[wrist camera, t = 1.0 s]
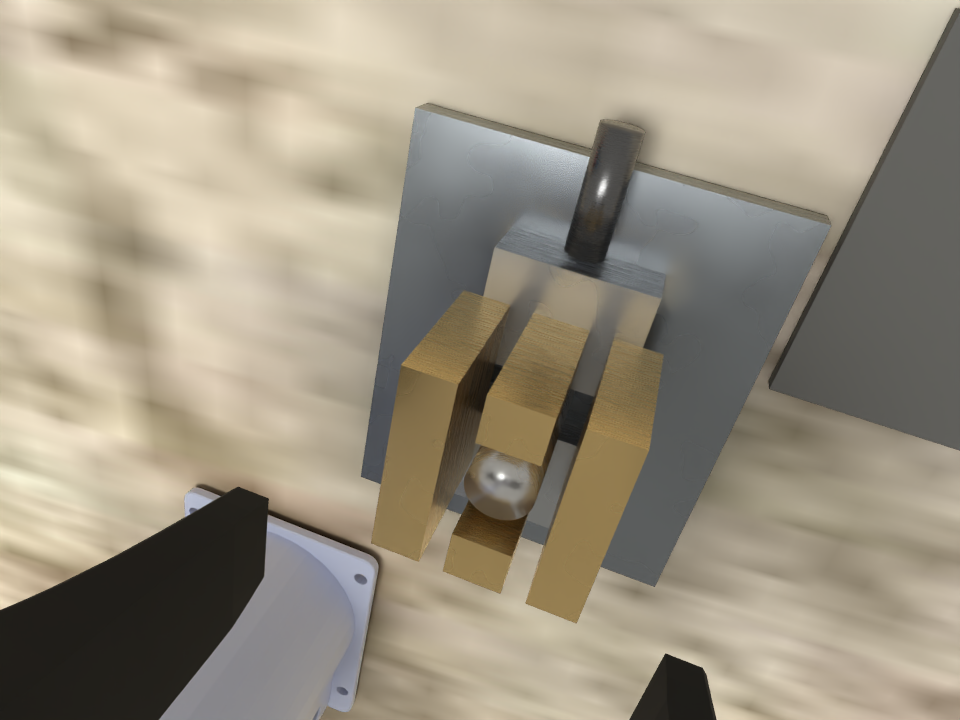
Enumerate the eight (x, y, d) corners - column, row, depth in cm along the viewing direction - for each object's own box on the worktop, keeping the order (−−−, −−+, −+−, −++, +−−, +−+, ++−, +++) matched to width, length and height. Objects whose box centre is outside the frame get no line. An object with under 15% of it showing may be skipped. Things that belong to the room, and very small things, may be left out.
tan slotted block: (602, 509, 19) (576, 623, 16) (430, 447, 20) (370, 543, 16) (663, 354, 16) (649, 450, 13) (464, 290, 17) (400, 365, 14)
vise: (656, 568, 22) (638, 739, 17) (371, 462, 24) (277, 591, 19) (846, 173, 16) (907, 263, 11) (433, 61, 17) (313, 93, 12)
